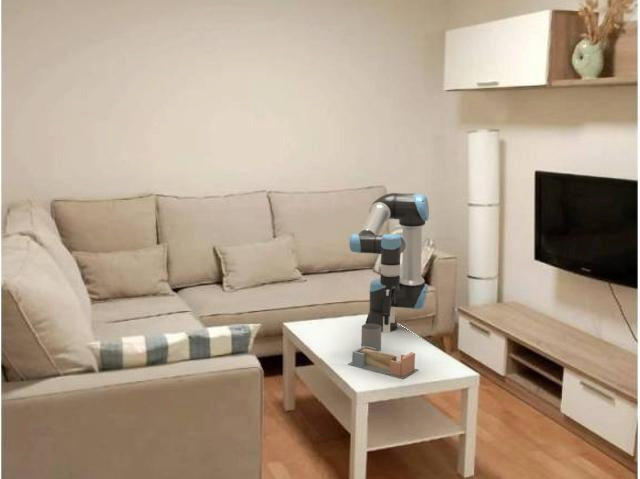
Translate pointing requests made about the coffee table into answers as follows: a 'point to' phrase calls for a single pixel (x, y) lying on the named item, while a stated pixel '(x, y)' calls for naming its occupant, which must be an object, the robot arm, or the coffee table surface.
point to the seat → (359, 361)
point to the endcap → (403, 365)
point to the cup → (371, 336)
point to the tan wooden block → (378, 359)
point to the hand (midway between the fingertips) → (388, 327)
